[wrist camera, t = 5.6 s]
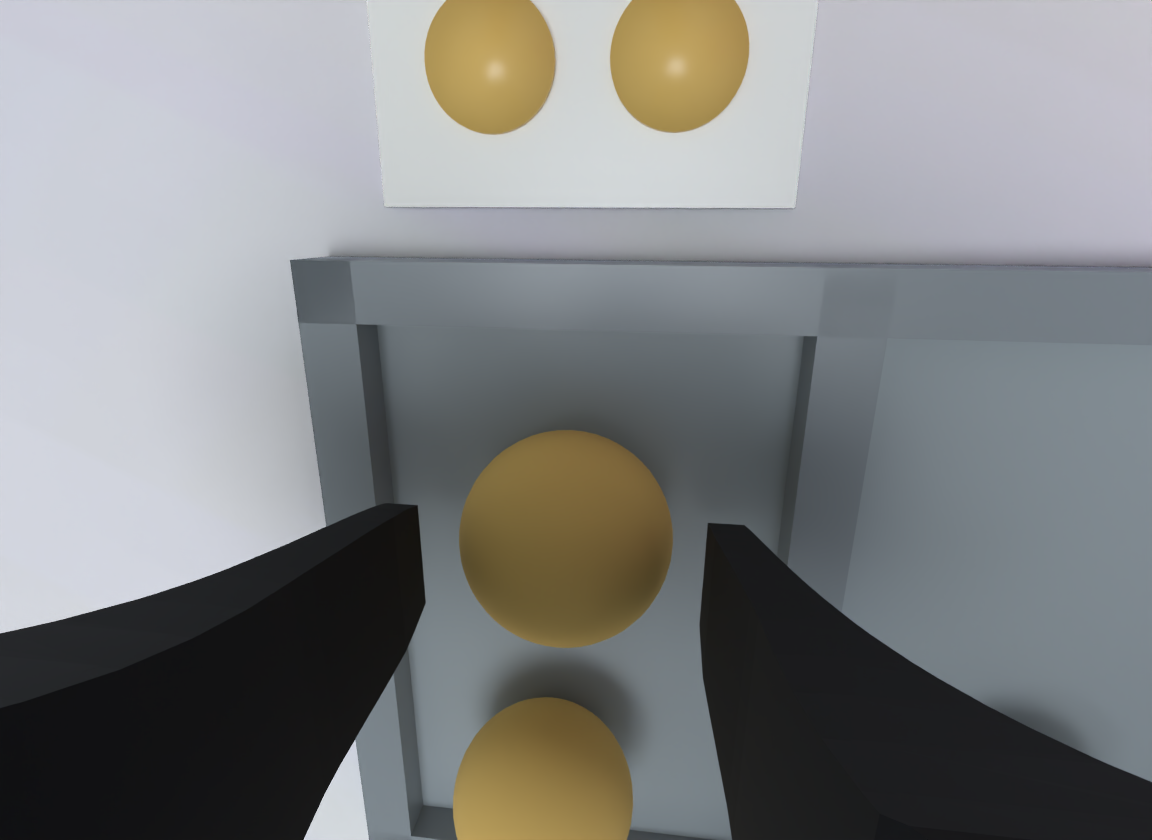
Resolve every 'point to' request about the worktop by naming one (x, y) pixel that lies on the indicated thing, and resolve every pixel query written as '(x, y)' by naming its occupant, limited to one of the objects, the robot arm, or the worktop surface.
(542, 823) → the amber ball
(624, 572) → the amber ball
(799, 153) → the card
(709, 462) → the sorting tray
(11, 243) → the worktop surface
